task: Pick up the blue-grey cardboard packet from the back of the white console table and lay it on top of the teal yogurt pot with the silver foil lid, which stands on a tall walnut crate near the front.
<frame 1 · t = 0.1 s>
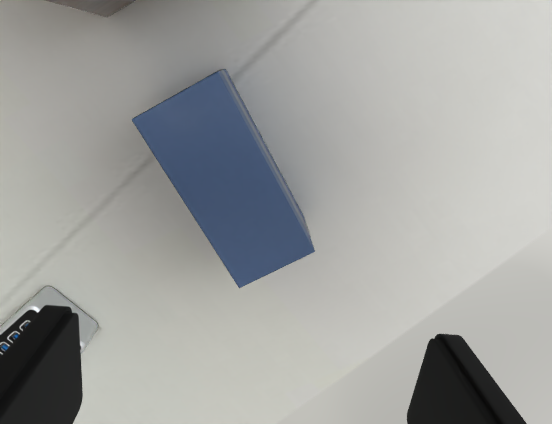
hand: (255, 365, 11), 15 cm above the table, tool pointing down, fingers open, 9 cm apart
packet: (234, 165, 25), on the table
multiport hub: (7, 363, 29), on the table
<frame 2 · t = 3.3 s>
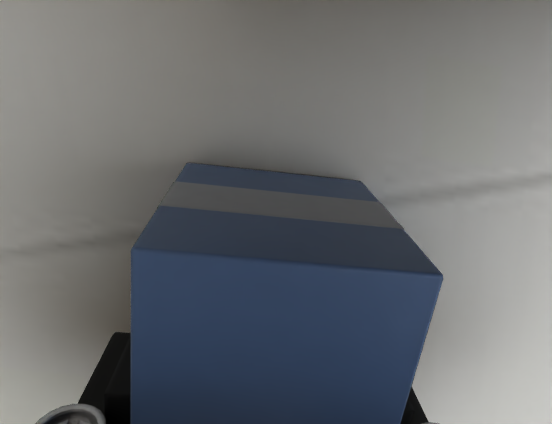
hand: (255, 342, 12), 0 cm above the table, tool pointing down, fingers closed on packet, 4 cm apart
packet: (255, 334, 12), on the table, touching gripper
when the fingers open (24 cm above the table, at t = 9.9 s): packet stays where it is, resting on yogurt pot.
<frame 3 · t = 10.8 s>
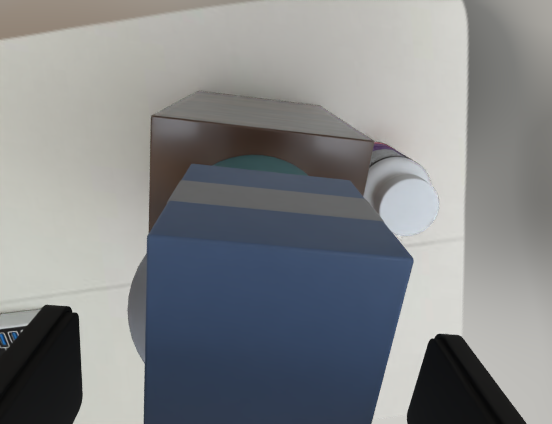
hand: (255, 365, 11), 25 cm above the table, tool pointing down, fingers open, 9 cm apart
packet: (253, 322, 13), point 23 cm above the table, touching yogurt pot
walnut crate: (253, 158, 35), on the table
pill bottle: (369, 170, 36), on the table
yogurt pot: (253, 232, 20), point 16 cm above the table, touching packet, walnut crate
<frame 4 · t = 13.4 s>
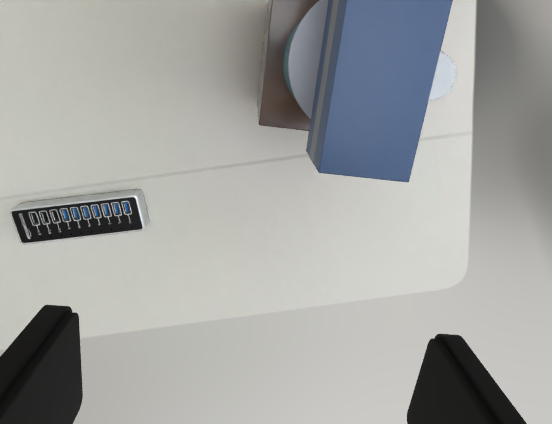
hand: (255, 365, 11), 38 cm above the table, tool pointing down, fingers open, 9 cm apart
packet: (359, 66, 23), point 23 cm above the table, touching yogurt pot
walnut crate: (308, 61, 45), on the table
pill bottle: (397, 73, 46), on the table
multiport hub: (86, 212, 49), on the table
yogurt pot: (335, 63, 30), point 16 cm above the table, touching packet, walnut crate
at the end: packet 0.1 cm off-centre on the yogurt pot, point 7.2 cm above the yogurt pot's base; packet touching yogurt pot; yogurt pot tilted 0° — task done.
